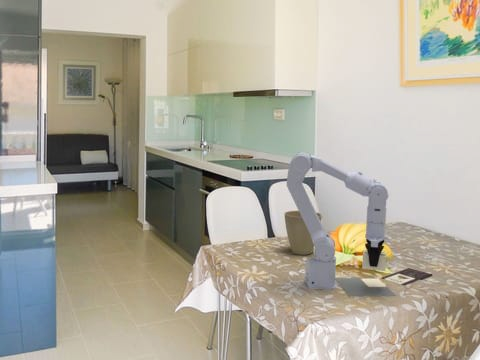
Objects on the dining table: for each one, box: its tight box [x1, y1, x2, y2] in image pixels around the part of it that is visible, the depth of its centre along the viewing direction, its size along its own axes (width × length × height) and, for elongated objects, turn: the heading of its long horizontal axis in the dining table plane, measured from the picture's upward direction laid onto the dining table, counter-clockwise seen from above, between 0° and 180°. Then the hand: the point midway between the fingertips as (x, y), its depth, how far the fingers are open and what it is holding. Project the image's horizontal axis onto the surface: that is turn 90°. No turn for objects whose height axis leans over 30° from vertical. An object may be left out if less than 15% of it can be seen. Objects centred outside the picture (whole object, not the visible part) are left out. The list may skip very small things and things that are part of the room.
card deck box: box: [361, 250, 387, 272], centre depth 155 cm, size 7×5×5 cm
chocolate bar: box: [380, 267, 433, 286], centre depth 169 cm, size 9×1×18 cm
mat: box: [335, 277, 397, 298], centre depth 158 cm, size 15×17×1 cm
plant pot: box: [283, 210, 323, 256], centre depth 197 cm, size 15×15×16 cm
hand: (373, 263), depth 155 cm, fingers closed on card deck box, 5 cm apart
